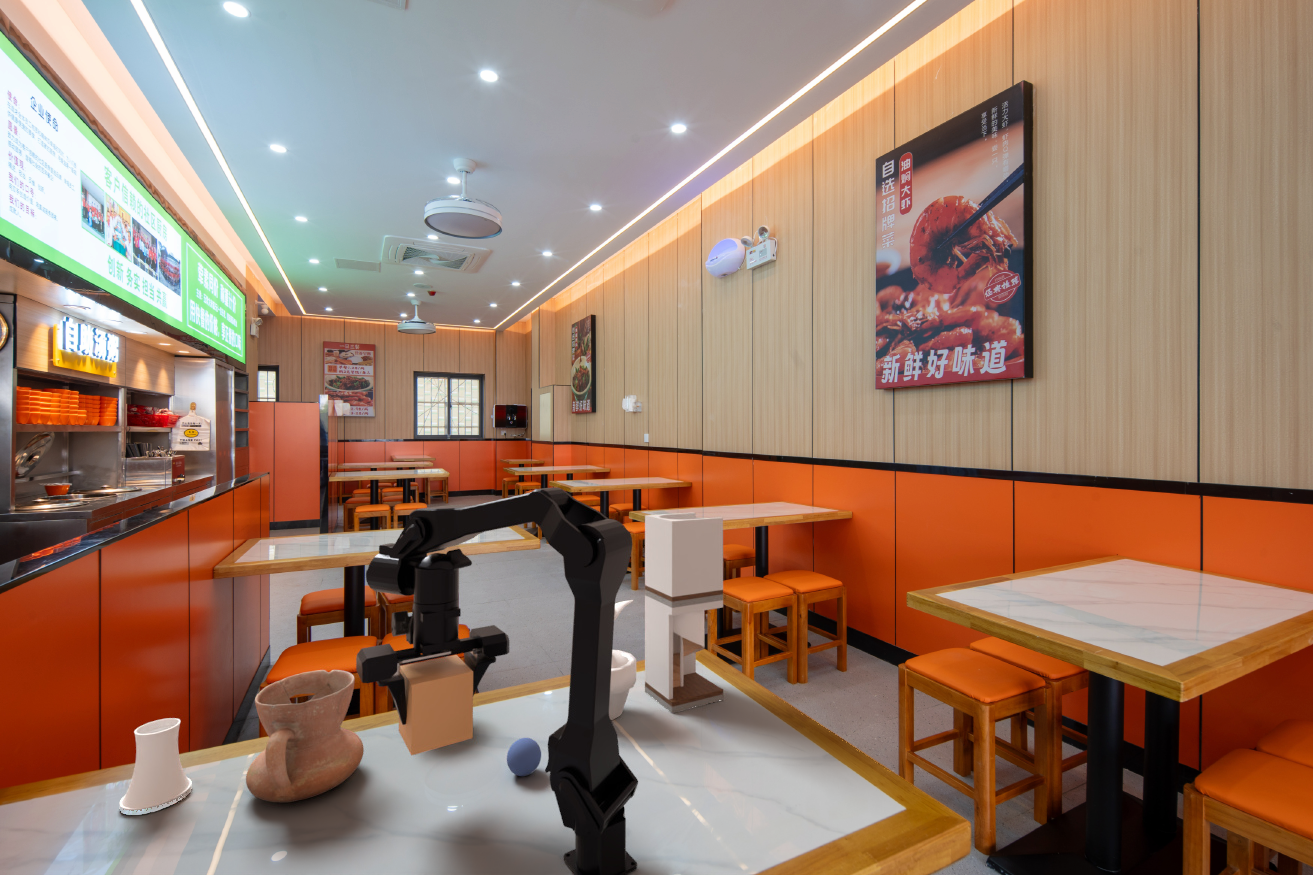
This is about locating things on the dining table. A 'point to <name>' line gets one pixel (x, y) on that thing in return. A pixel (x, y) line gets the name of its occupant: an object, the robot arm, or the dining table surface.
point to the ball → (523, 756)
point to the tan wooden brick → (437, 704)
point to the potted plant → (621, 674)
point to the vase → (156, 767)
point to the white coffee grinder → (680, 605)
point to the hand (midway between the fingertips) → (435, 715)
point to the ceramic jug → (304, 737)
